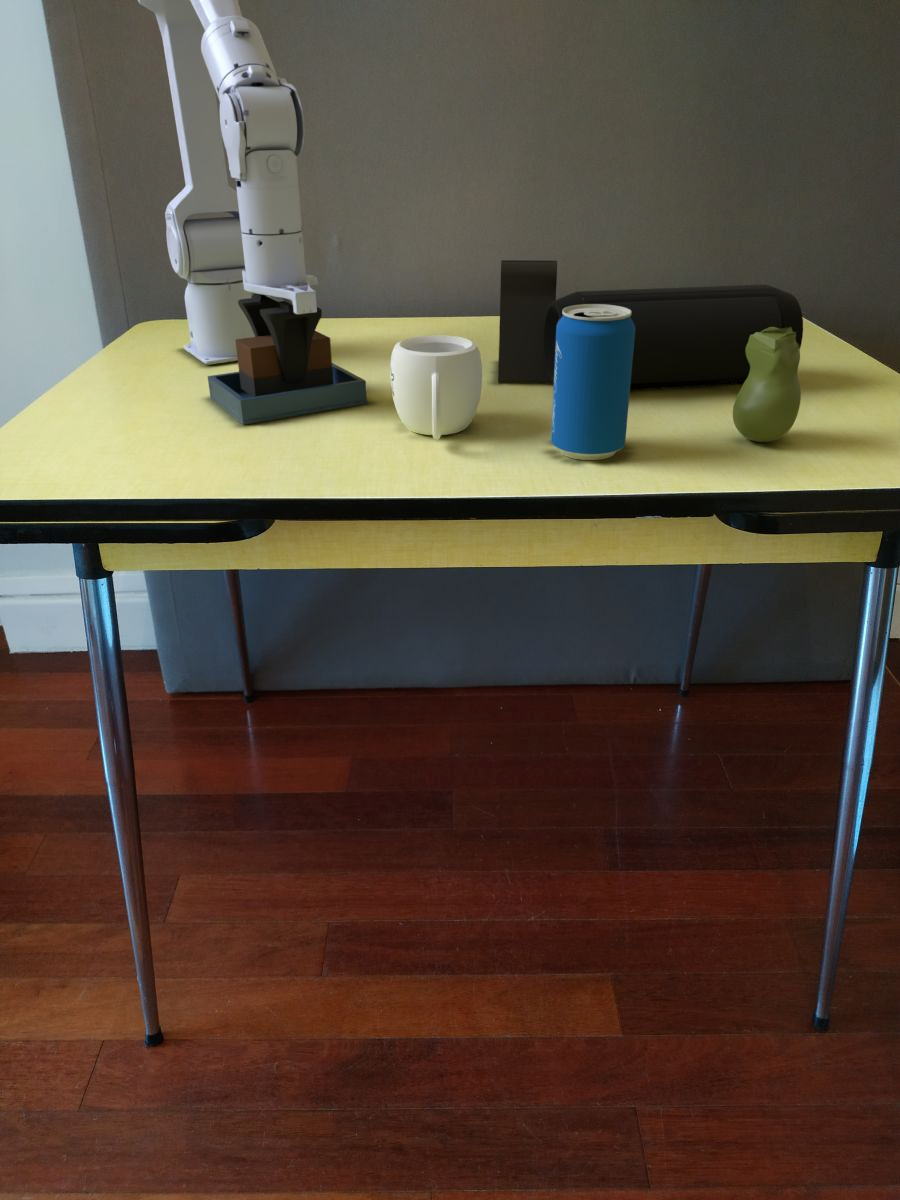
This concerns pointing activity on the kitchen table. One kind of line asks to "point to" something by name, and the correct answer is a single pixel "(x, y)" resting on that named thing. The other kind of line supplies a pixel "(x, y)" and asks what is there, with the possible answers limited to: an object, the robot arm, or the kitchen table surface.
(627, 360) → the beverage can
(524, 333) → the phone stand
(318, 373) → the eraser
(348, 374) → the tray
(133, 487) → the kitchen table surface
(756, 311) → the portable speaker
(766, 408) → the pear
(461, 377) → the mug
